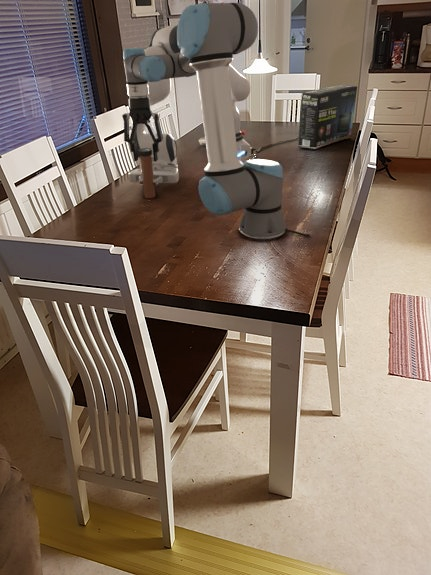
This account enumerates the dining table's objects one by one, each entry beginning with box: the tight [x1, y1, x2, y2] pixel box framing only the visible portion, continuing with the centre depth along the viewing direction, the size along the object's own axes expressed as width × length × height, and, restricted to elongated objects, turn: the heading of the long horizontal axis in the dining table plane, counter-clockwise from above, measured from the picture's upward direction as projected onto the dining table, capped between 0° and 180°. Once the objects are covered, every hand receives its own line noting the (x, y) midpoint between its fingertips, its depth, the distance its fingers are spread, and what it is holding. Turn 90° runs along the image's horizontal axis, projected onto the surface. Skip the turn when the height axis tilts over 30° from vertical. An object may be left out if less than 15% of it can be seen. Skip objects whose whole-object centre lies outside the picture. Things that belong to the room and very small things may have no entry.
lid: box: [138, 148, 152, 156], centre depth 174 cm, size 5×5×2 cm
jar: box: [139, 155, 157, 199], centre depth 179 cm, size 4×4×18 cm
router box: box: [297, 84, 358, 151], centre depth 238 cm, size 36×11×27 cm, turn 134°
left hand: (147, 182), depth 179 cm, fingers closed on jar, 4 cm apart
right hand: (146, 160), depth 176 cm, fingers open, 7 cm apart
